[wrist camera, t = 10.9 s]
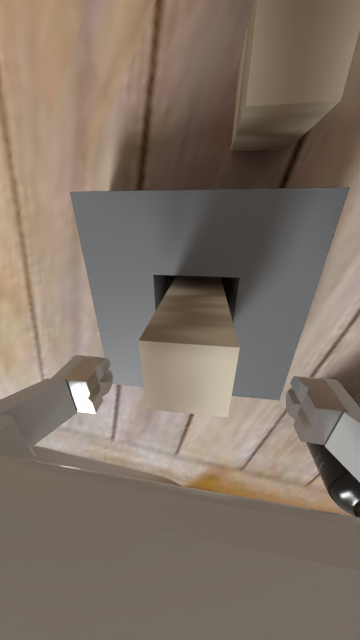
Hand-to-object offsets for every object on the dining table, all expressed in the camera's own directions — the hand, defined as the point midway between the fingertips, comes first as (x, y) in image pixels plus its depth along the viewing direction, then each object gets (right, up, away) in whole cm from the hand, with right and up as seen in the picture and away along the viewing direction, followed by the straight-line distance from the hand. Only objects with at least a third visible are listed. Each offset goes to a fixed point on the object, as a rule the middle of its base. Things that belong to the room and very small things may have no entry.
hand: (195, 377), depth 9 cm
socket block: (+1, +5, +10) cm, 12 cm away
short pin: (+5, +17, +4) cm, 18 cm away
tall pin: (+1, +5, +10) cm, 12 cm away
